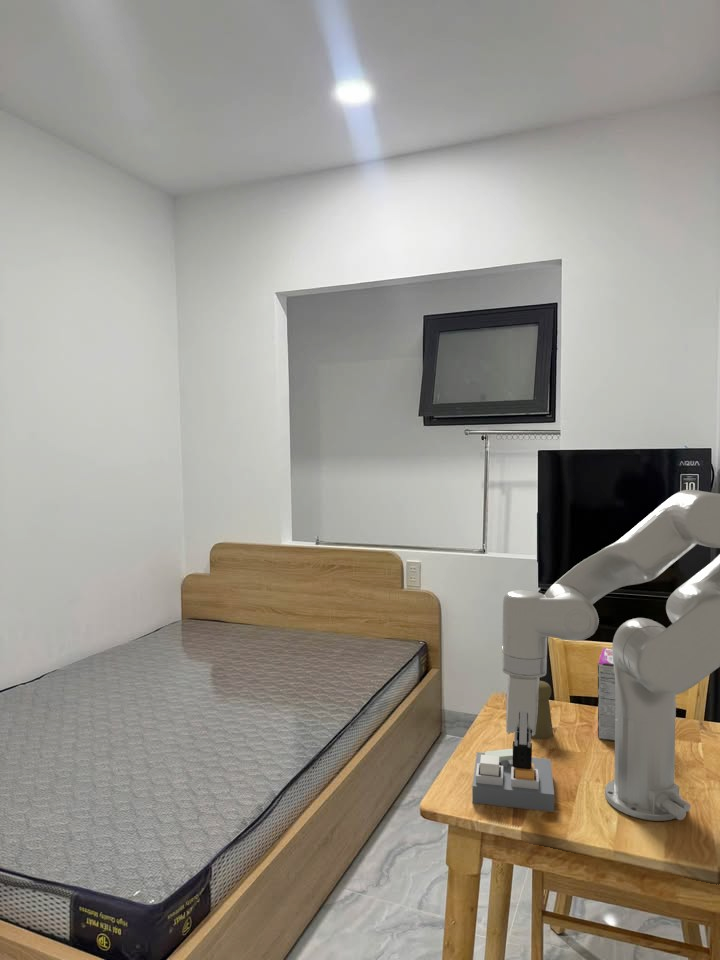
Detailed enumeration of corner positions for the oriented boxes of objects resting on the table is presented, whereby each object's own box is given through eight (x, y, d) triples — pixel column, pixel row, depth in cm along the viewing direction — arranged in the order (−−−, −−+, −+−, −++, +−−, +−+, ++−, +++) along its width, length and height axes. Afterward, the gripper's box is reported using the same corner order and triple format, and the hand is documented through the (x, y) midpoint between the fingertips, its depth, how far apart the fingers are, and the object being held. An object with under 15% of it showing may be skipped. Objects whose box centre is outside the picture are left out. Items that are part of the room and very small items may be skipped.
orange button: (533, 774, 118) (533, 763, 118) (534, 783, 115) (534, 771, 115) (515, 772, 119) (515, 761, 119) (515, 781, 116) (515, 769, 116)
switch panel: (550, 774, 126) (550, 752, 125) (554, 811, 113) (554, 787, 113) (476, 767, 129) (476, 745, 128) (472, 802, 116) (472, 778, 116)
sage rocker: (523, 751, 124) (522, 747, 124) (523, 758, 122) (523, 754, 122) (486, 755, 126) (485, 751, 126) (485, 762, 123) (484, 758, 123)
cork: (518, 730, 145) (518, 680, 145) (540, 724, 148) (540, 675, 147) (536, 741, 140) (536, 689, 139) (559, 735, 142) (559, 684, 142)
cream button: (499, 767, 120) (499, 756, 120) (498, 775, 117) (498, 764, 117) (481, 765, 120) (481, 754, 120) (480, 774, 117) (480, 762, 117)
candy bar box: (601, 719, 151) (602, 647, 150) (625, 722, 149) (626, 649, 148) (596, 739, 140) (596, 662, 140) (621, 743, 138) (622, 665, 138)
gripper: (502, 648, 124) (500, 745, 125) (501, 675, 110) (498, 784, 111) (544, 651, 123) (542, 749, 124) (548, 679, 108) (546, 790, 109)
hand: (521, 766), depth 117 cm, fingers closed
